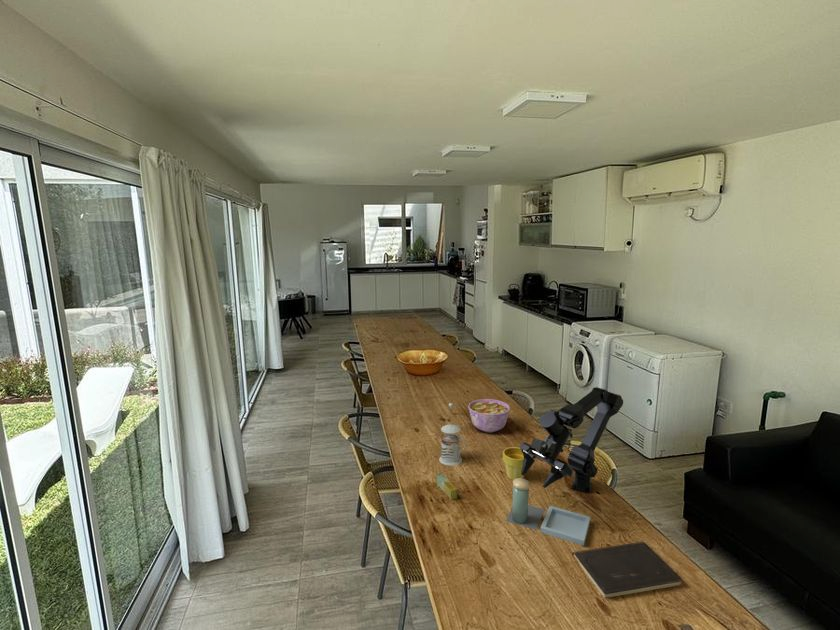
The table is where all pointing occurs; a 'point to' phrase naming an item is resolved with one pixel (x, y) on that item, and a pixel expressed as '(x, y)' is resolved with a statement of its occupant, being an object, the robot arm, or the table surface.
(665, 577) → the hardcover book
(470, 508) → the table surface
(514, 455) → the plant pot
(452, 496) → the medication box
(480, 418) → the bowl of food
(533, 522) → the mat
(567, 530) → the dish
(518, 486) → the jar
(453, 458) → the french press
